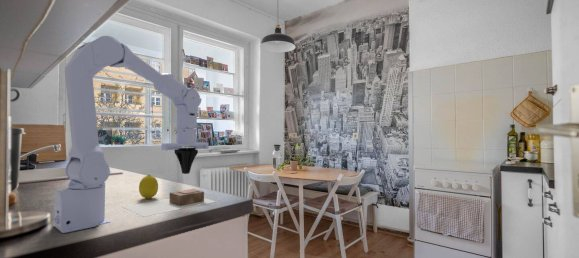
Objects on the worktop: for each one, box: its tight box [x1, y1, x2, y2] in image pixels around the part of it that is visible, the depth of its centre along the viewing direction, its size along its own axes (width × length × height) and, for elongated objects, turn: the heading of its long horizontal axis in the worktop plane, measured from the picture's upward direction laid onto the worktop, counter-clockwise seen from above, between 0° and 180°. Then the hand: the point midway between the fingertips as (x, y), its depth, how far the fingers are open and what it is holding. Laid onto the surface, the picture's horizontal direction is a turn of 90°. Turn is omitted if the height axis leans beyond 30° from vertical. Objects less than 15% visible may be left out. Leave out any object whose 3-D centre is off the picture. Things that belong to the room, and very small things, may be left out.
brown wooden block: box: [169, 188, 205, 206], centre depth 91 cm, size 3×6×8 cm
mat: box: [121, 197, 217, 217], centre depth 88 cm, size 22×14×1 cm, turn 140°
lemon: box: [138, 174, 159, 200], centre depth 95 cm, size 6×6×8 cm
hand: (185, 173), depth 91 cm, fingers closed
